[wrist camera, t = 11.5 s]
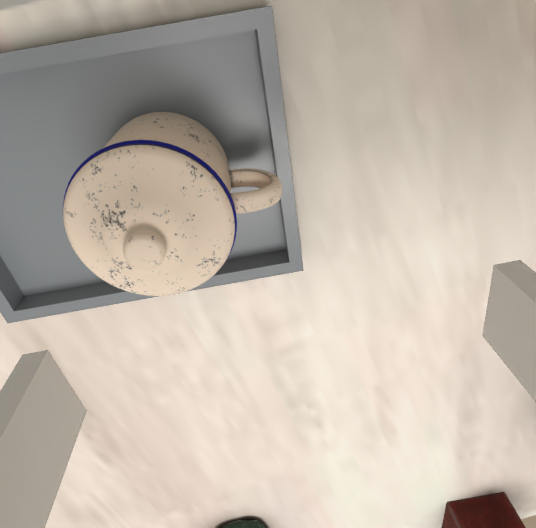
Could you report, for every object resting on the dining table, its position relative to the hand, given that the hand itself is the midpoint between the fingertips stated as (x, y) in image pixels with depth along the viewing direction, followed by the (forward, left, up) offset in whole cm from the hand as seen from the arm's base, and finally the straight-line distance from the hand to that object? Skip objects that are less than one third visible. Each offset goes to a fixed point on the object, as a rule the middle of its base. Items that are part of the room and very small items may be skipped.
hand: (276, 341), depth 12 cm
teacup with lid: (+4, +1, -20) cm, 20 cm away
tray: (+9, 0, -20) cm, 22 cm away
